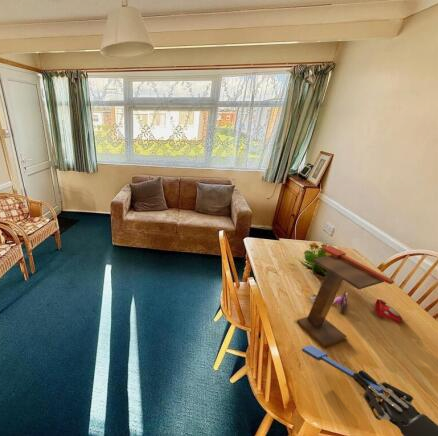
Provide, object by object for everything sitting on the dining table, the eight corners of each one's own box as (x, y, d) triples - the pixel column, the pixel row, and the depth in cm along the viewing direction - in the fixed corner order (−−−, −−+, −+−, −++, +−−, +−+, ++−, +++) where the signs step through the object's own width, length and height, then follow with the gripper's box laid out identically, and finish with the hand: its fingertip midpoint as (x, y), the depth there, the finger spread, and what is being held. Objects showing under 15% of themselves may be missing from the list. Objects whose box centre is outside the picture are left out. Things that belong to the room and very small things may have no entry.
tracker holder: (409, 320, 98) (396, 320, 95) (400, 325, 100) (386, 326, 97) (382, 295, 107) (369, 295, 104) (374, 301, 110) (361, 300, 107)
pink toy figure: (343, 301, 101) (347, 291, 106) (329, 298, 105) (333, 288, 110) (344, 314, 102) (348, 304, 107) (330, 310, 106) (334, 301, 111)
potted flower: (354, 275, 127) (366, 248, 119) (349, 297, 111) (363, 269, 104) (302, 257, 142) (310, 232, 135) (292, 275, 127) (301, 248, 120)
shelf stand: (352, 342, 90) (389, 278, 76) (326, 352, 86) (359, 287, 73) (314, 311, 104) (340, 253, 90) (290, 319, 100) (313, 259, 86)
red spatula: (395, 282, 74) (397, 279, 74) (387, 285, 73) (388, 282, 73) (329, 247, 93) (330, 245, 93) (321, 249, 92) (322, 247, 92)
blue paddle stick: (387, 390, 64) (386, 386, 64) (376, 396, 62) (376, 391, 62) (311, 347, 85) (310, 344, 85) (302, 351, 84) (301, 347, 84)
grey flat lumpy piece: (318, 295, 113) (319, 292, 112) (332, 307, 106) (333, 304, 105) (305, 296, 112) (307, 293, 111) (319, 309, 105) (320, 306, 104)
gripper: (410, 465, 53) (335, 387, 68) (445, 442, 57) (367, 373, 72) (427, 450, 50) (344, 372, 65) (463, 426, 54) (377, 358, 69)
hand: (357, 373), depth 69 cm, fingers closed on blue paddle stick, 1 cm apart
